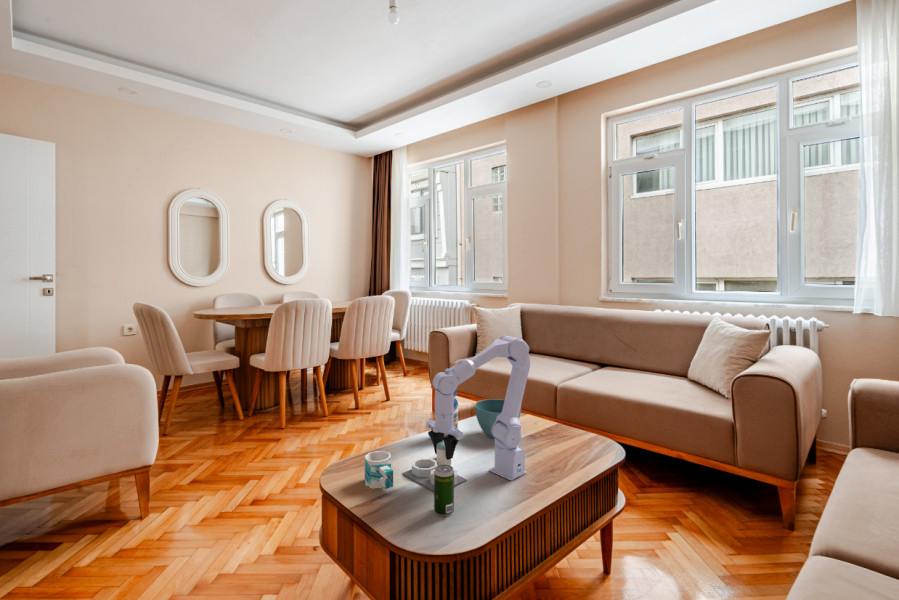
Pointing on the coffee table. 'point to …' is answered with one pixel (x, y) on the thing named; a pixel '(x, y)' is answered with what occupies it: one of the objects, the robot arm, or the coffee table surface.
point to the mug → (378, 470)
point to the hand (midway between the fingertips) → (443, 456)
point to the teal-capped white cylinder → (442, 455)
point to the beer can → (443, 490)
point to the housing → (428, 473)
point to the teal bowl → (489, 414)
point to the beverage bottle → (455, 422)
